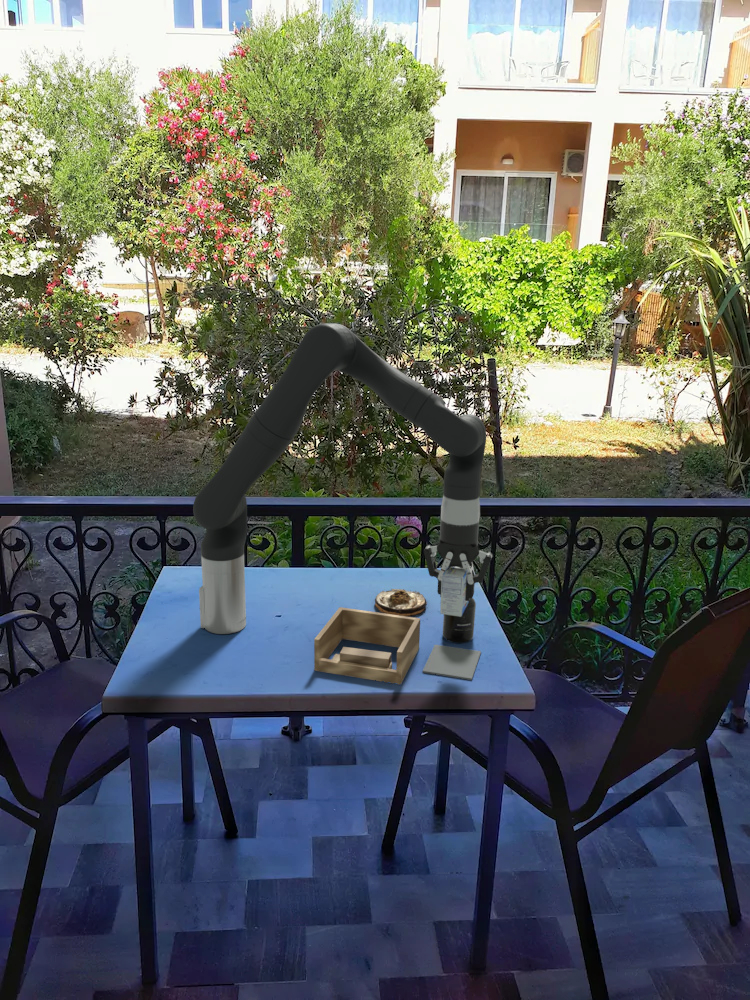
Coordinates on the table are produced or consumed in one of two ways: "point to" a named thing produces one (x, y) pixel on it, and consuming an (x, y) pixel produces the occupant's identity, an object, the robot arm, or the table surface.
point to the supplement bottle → (460, 625)
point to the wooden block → (364, 657)
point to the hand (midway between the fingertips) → (455, 597)
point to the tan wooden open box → (370, 631)
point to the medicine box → (453, 592)
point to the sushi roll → (400, 602)
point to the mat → (452, 662)
